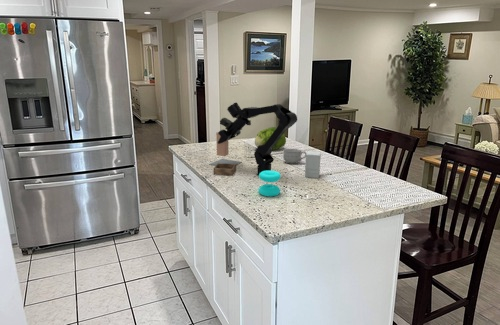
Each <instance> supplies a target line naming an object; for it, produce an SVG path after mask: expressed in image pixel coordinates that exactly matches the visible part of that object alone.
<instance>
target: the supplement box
mask: <svg viewBox="0 0 500 325" xmlns="http://www.w3.org/2000/svg"><path fill="white" fill-rule="evenodd" d="M321 155H322V153H321V152H320V151H309V150H308V151H307V152H306V157H305V166H304V167H305V170H304V177H305V178H309V179H310V178H311V179H319V178H320V173H321Z"/></svg>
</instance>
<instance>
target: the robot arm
mask: <svg viewBox="0 0 500 325" xmlns="http://www.w3.org/2000/svg"><path fill="white" fill-rule="evenodd" d="M226 110H227V111H228V113H229V115H230V116H231V117H232V118H233V119H235V120H233V121H232V120H230V119H229V118H226V117H222V118H221V119H220V120H219V124H220V125H222V126H223V127H225V129H221V130H219V131H218V134H219V135H220V136H221V137H220V139H219V141H218V144H220V143H223V142H225V141H228V142H229V141H230V140H231V139H234V138H236V137H238V136H240V135H241V131H242V130H243V128H244V127H245V126H252V123H251V122H252V121H251V120H249V119H252V118H253V119H254V118H256V117H258V116H261V115H265V114H271V113H274V114H275V115H276V118H277V119H278V125H277V126H276V127H277V128H276V129H275V131H274V132H273V133H272V135H271V136H270V137H269V139H268V140H267V142H266V143H265V144H263V145H259V146H258V147H256V149H254V153H253V155H254V159H255V163H256V165H257V166H256V168H257V171H256V175H257V176H259V174H260V173H261V172H262V171H268V170H271V171H272V163H273V162H274V160H275V159H274V157H273V156H272V155H271V154H272V151H273V150H272V148H273V147H274V145H275V144H276V143H277V141H278V140H279V139H280V137H281V136H282V135H283V134H284V135H285V133H286V131H288V129H290V128H291V127H293V126H294V125H295V124H296V123H297V122H298V115H297V114H296V113H295V112H292V111H291V110H290V109H288V108H286V107H284V105H282V104H281V103H276V104H273V105H267V106H262V107H257V106H251V107H250V106H249V107H244V108H241V107H240V105H239V104H238V102H233V103H232V104H230V105H229V106H228V107H227V109H226Z"/></svg>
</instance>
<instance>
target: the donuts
mask: <svg viewBox="0 0 500 325" xmlns="http://www.w3.org/2000/svg"><path fill="white" fill-rule="evenodd" d="M281 175H282V174H281V173H280V172H278V171H276V170H272V169H271V170H268V171H262V172H261V173H260V174H259V175H258V179H260V181H262V182H265V183H268V184H262V185H261V186H259V188H258V193H259V194H260V195H262V196H265V197H276V196H278V195H279V194H280V193H281V188H280V186H277V185H276V184H269V183H275V182H278V181H279V180H281V177H282V176H281Z"/></svg>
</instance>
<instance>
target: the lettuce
mask: <svg viewBox="0 0 500 325" xmlns="http://www.w3.org/2000/svg"><path fill="white" fill-rule="evenodd" d="M277 127H278V126H272V127H271V126H270V127H267V128H265V129H262V130H260V131H259V132H258V133H257V134H256V136H255V138H254V145H255V147H256V148H257V147H258V146H259V145H263V144H265V143H266V142H267V140H268V139H269V137H270V136H271V135H272V133H273V132H274V131H275V129H276V128H277ZM286 142H287V138H286V134H285V133H284V134H283V135H282V136H281V137H280V139H279V140H278V141H277V143H276V144H275V145H274V147H273V148H272V151H273V150H274V151H275V150H278V149H280V148H282V147H285V145H286Z"/></svg>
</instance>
